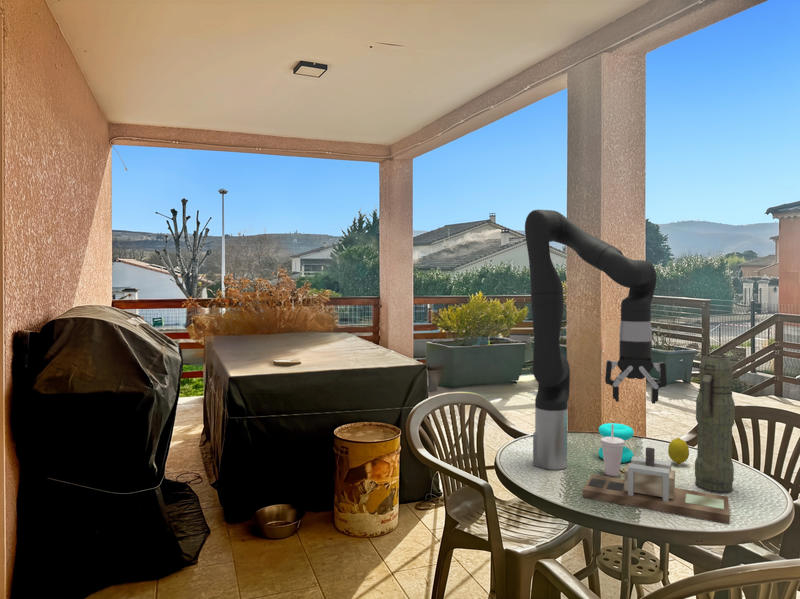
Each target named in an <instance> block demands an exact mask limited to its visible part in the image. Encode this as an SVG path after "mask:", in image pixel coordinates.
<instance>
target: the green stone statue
mask: <svg viewBox="0 0 800 599" xmlns="http://www.w3.org/2000/svg"><path fill="white" fill-rule="evenodd" d="M698 367H699V369H698V372H699V373H698V385H699V389H698V395H697V396H696V399H695V403H696V404H695V420H696V423H697V448H696V449H697V450H696V451H697V455H696V459H695V461H694V476H695V482H694V485H695V487H696V488H698V489H700V490H702V491H706V492H707V493H711V494H730V493H732V492H733V490H734V488H733V484H734V483H733V482H734V476H735V471H734V470H735V468H734V463H733V459H732V456H733V454H732V453H733V441H732V440H733V427H734V424H735V417H736V416H735V413H736V412H735V411H736V410H735V406H736V405H735V401H734V398H733V391H732V387H733V375H734V374H733V371H734V370H733V365H732V362H731V360H730V357H728V356H726V355H724V354H715V353H714V354H713V353H711V354H710V353H709V354H705V355H702V357H701V360H700V361H699V366H698Z"/></svg>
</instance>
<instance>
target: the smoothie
mask: <svg viewBox="0 0 800 599" xmlns="http://www.w3.org/2000/svg"><path fill="white" fill-rule="evenodd" d="M613 434H614V424H612V425H611V437H603V436H602V437H601V438H600V444H601V447H602V450H603V458H604V459H603V464H604V473H605V475H607V476H610V477H611V476H612V477H616V476H617V477H618V476H620V471H621V464H622V463H621V458H622V451H623V446H625V440H623V439H620V438H617V437H613Z"/></svg>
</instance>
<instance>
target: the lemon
mask: <svg viewBox="0 0 800 599" xmlns="http://www.w3.org/2000/svg"><path fill="white" fill-rule="evenodd" d="M689 449H690V448H689V446H688V444H687V442H686V441H685V440H684V439H682V438H680V437H677V438H673V439H672V440H671V441H670V442H669V444H668V449H667V450H668V451H667V452H668V453H667V454H668V456H669V458H670V460H671V461H672V462H675V464H676V465H681V464H683V463H685V462H686V461H687V460H688V459H689V455H690V450H689Z"/></svg>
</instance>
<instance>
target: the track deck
mask: <svg viewBox="0 0 800 599" xmlns="http://www.w3.org/2000/svg"><path fill="white" fill-rule="evenodd" d="M624 485H625V478H624V479H623V478H616V477H611V476H606V475H605V476H604V475H597V474H593V473H592V474H590V476H589V478H588V480H587V482H586V483H585V485H584V486H583V488H582V498H585V497H586V498H587V499H591V500H596V499H597V501H601V502H609V503H613V504H619V505H623V506H630V507H634V508H640V509H644V510H650V511H657V512H661V513H666V514H667V513H668V514H673V515H678V516H683V517H688V518H693V519H699V520H704V519H706V520H705V521H710V520H712V521H711V522H715V521H717V522H716V523H721V522H722V524H726V523H728V524H727V525H730V521H731V520H730V517H731V516H730V506H729V505H730V504H729V496H725V495H720V494H716V493H710V492H703V491H702V492H701V491H697V490H690V489H683V488H679V487H678V488H677V487H675V493H674V499H670V498H669V502H664V501H663V497H659V496H653V495H647V494H641V493H635V492H634V495H633V496H630V495H628V491H624Z"/></svg>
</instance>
